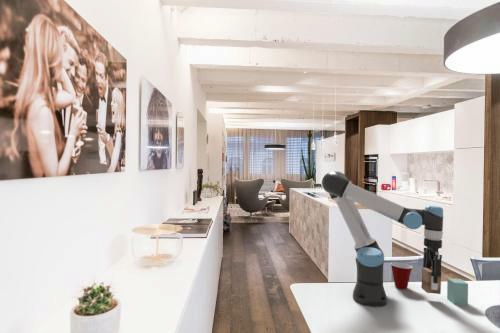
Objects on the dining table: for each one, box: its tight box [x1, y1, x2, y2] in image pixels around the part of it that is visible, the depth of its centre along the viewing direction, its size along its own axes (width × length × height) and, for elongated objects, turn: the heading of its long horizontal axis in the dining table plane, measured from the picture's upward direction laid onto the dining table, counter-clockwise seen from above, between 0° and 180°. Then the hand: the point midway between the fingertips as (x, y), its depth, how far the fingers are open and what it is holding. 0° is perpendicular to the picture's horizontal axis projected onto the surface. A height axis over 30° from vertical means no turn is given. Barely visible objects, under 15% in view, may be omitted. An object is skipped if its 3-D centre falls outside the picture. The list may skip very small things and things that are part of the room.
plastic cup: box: [390, 262, 414, 290], centre depth 161 cm, size 11×11×12 cm
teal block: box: [446, 277, 469, 306], centre depth 143 cm, size 6×6×10 cm
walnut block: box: [420, 266, 442, 295], centre depth 145 cm, size 6×6×10 cm
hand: (430, 286), depth 145 cm, fingers closed on walnut block, 6 cm apart
